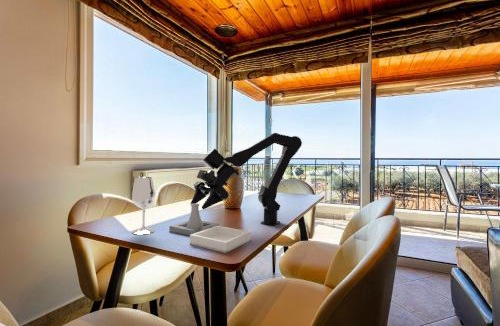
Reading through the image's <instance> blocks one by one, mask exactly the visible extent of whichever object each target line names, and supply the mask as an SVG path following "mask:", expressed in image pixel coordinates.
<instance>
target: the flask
mask: <svg viewBox="0 0 500 326" xmlns="http://www.w3.org/2000/svg"><path fill="white" fill-rule="evenodd" d="M199 206H200V203H198V202H197V203H194V204H190V207H191V211H190V216H189V219H188V220H187V221H188V224H187V228H192V229H198V228H201V227H204V226H203V224H202V221H203V220H202V219H201V216H200V211H199V210H200V209H199Z"/></svg>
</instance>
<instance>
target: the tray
mask: <svg viewBox="0 0 500 326" xmlns="http://www.w3.org/2000/svg"><path fill="white" fill-rule="evenodd" d="M251 233H252V232H251V230H250V231H249V230H243V229H239V228H232V227H228V226H222V225H219V226H215V227H212V228H209V229H206V230H203V231H200V232H197V233H194V234H191V235H190V236H189V245H191V246H194V247H195V246H196V247H199V248H204V249H206V250H212V251H215V252H219V253H224V254H226V253H228V252H230V251H233V250H235V249H237V248H239V247H241V246H242V245H244V244H246V243H249V242H251V237H252V235H251Z"/></svg>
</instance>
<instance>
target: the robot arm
mask: <svg viewBox="0 0 500 326" xmlns="http://www.w3.org/2000/svg"><path fill="white" fill-rule="evenodd" d="M273 144H277V145H279V146H282V151H281V155H280V158H279V160H278V161H277V163H276V166H275V168H274V170H273V172H272V174H271V176H270V178H269V181H268V183H267V184H266V185H265V186H264V185H261V187H260V190H259V192H258V193H257V195H258V196H257V200H258V202H259V203H260V204H262V207H263V221H261V222H260V224H261V225H262V224H263V225H269V226H276V225H278V224H280V223H281V221H278V211H280V208H281V205H280V204H279V202H278V201H276V198H277V194H278V187H279V186H280V183H281V180H282V178H283V177H284V174H285V173H286V170H287V169H288V166H289V164H290V162H291V160H292V158H293V157H294V156H295V155H296V154H297V153H298V151H299V150H300V148H301V147H302V145H303V142H302V139H301V137H299V136H297V135H293V136H290V135H285V134H280V133H277V132H273V133H270V134H269V136H266V137H265V138H263V139H261V140H260V141H258V142H256V143H255V144H253V145H252V146H249V147H247V148H245V149H242V150H240V151H237V152H235V153H233V154H230V156H225V157H224V156H223V155H222V154H221V153H220V152H219V151H218V149H216V148H214V149H213V150H212V151H211V152H209V153H208V154H207V155H206V156H204V158H203V159H202V161H203V162H204V163H205V164H206V165H208V166H209V167H210V168H211V169H209V170H204V169H199V171H198V173H197V176H196V178H197V179H200V180H202V181H196V182H195V183H194V184H193V186H194V187H193V188H194V191H195V192H194V195H193V197H192V199H191V202H190V205H191V204H194V203H197V204H198V203H200V201H202V200H203V199H204V198H206V197H207V196H208V197H207V199H206V200H205V201H204V203H203V204H202V206H201V209H202V210H206V209H207V208H209V207H212V206H213V205H216V204H218V203H220V202H224V201H227V200H228V199H229V197H230V193H229V191H228V190H227V189H226V188H225V187H226V186H228V183H227V182H228V181H229V180H230V179H231V178H232V176H234V177H238V176H240V172H239V169H238V168H240V167H242V166H244V165H245V164H246V163H247V162H248V161H249V160H250V159H252V158H253V157H254V156H255V155H257V154H260V153H261V152H262V151H264V150H265V149H267V148H269V147H271V146H272V145H273ZM229 164H231V165H229ZM235 167H236V168H237V169H236V168H235ZM214 169H215V170H217V171H216V172H215V170H214ZM224 186H225V187H224Z"/></svg>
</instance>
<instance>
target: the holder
mask: <svg viewBox="0 0 500 326" xmlns="http://www.w3.org/2000/svg"><path fill="white" fill-rule="evenodd" d="M188 221H189V220H186V221H184V222H180V223H175V224H173V225H169V226H168V228H169V231H168V232H170V233H175V234H180V235H184V236H186V237H187V236H189V237H190V235H191V234H194V233H197V232H200V231H203V230H206V229H209V228H212V227H215V226H220V224H219V223H216V222H211V221H206V220H205V221H204V220H201V221H202V224H203V226H204V227H201V228H198V229H192V228H187V224H188Z"/></svg>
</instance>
